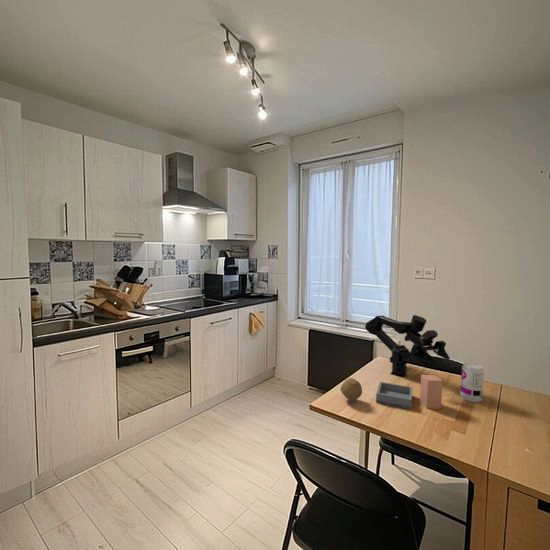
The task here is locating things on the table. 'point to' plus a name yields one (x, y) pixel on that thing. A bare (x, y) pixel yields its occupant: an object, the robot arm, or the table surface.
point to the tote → (394, 395)
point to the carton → (431, 391)
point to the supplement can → (472, 382)
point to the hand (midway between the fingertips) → (441, 360)
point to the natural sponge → (351, 389)
